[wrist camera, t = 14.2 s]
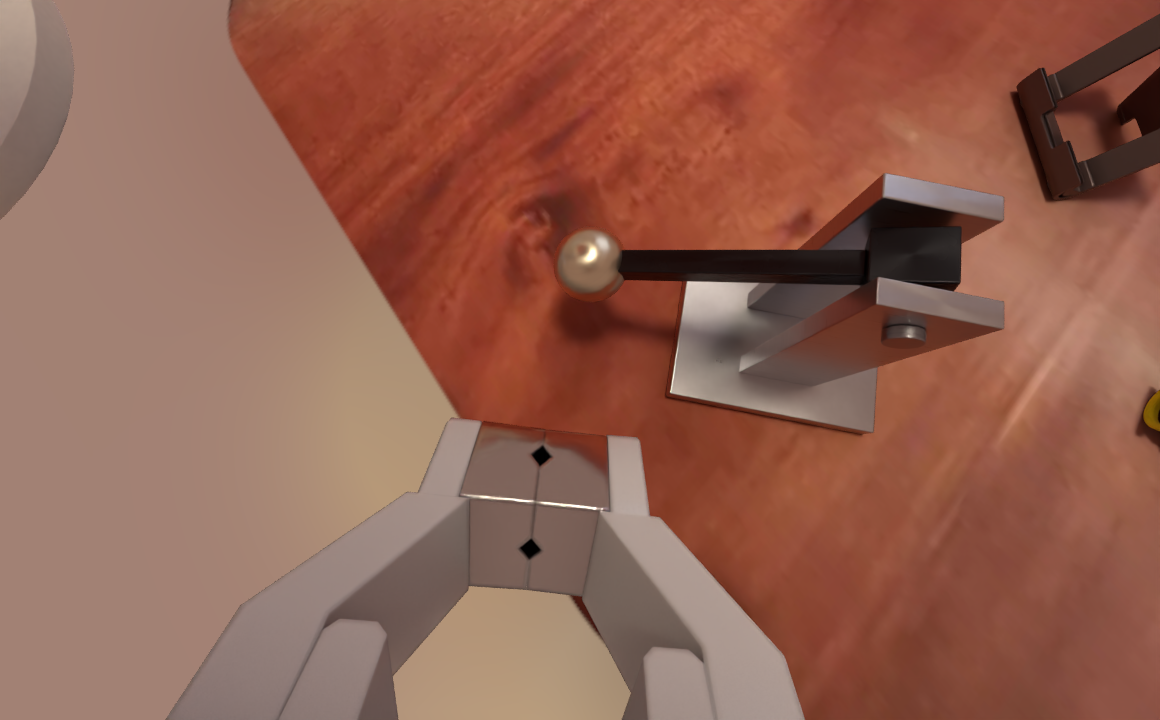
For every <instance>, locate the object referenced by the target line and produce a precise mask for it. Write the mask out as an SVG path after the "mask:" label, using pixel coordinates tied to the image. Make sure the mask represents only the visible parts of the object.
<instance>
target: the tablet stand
mask: <svg viewBox="0 0 1160 720" xmlns="http://www.w3.org/2000/svg"><path fill="white" fill-rule="evenodd" d="M1158 49H1160V14H1159V15H1157V16H1155V17H1153V18H1152V19H1150V20H1148V21H1146V22H1144V23H1143V24H1141V25H1139V26H1137V27H1136V28H1134V29H1132V30H1130V31H1129V32H1127V33H1125V34H1123V35H1122V36H1120V37H1118V38H1116V39H1115V40H1113V41H1111V42H1109V43H1108V44H1106V45H1104V46H1102V47H1101V48H1099V49H1097V50H1095V51H1094V52H1092V53H1090V54H1088V55H1087V56H1085V57H1083V58H1081V59H1080V60H1078V61H1076V62H1074V63H1073V64H1071V65H1069V66H1067V67H1066V68H1064V69H1062V70H1060V71H1059V72H1057V73H1055V74H1052V75H1050V76H1048V77H1047V74H1046V71H1045V68H1039V69H1037V70H1036V71H1035V72H1033V73H1032V74H1030V75H1029V76H1028V77H1026V78H1025V79H1024V80H1022V81H1021V82H1020V83H1019V84H1018V85H1017V91H1018V94H1019V97H1020V104H1021V106H1022V107H1023V109H1024V112H1025V115H1026V118H1027V121H1028V124H1029V127H1030V130H1031V133H1032V136H1033V139H1034V142H1035V145H1036V148H1037V151H1038V154H1039V157H1040V160H1041V163H1042V166H1043V169H1044V172H1045V175H1046V178H1047V181H1048V182H1047V185H1048V188H1049V189H1050V190H1051V193H1052V196H1053V199H1054V200H1061V199H1066V198H1070V197H1073V196H1076V195H1079V194H1081V193H1084V192H1087V191H1089V190H1092V189H1094V188H1097V187H1099V186H1102V185H1104V184H1107V183H1110V182H1112V181H1115V180H1117V179H1120V178H1122V177H1125V176H1127V175H1130V174H1133V173H1135V172H1138V171H1140V170H1143V169H1145V168H1148V167H1150V166H1153V165H1155V164H1158V163H1160V67H1159V68H1158V69H1157V70H1156V71H1155V72H1154V73H1153V74H1152V75H1151V76H1149V77H1148V78H1147V79H1146V80H1145V81H1144V82H1143V83H1142V84H1141V85H1140V86H1139V87H1138V88H1137V89H1136V90H1135V91H1133V92H1132V93H1131V94H1130V95H1129V96H1128V97H1127V98H1126V99H1125V100H1124V101H1123V102H1122V103H1121V104H1119V105H1118V107H1117V115H1118V117H1119V120H1120V123H1121V125H1124V124H1126V123H1128V122H1129V121H1131V120H1132V119H1134V118H1135V119H1136V121H1137V123H1138V126H1139V128H1140V131H1141V134H1142V137H1140V138H1137V139H1135V140H1133V141H1130V142H1128V143H1126V144H1123V145H1121V146H1119V147H1116V148H1114V149H1112V150H1109V151H1107V152H1105V153H1103V154H1100V155H1098V156H1096V157H1093V158H1091V159H1089V160H1086V161H1082V162H1079V163H1077V160H1076V157H1075V154H1074V151H1073V148H1072V145H1071V143H1070V141H1066V142H1063V139H1062V136H1061V133H1060V130H1059V127H1058V124H1057V121H1056V118H1055V116H1054V113H1053V111H1054V110H1056V109H1057V107H1058V106H1057V103H1058V102H1060V101H1061V100H1063V99H1065V98H1067V97H1069V96H1071V95H1073V94H1075V93H1077V92H1078V91H1080V90H1082V89H1084V88H1086V87H1088V86H1090V85H1092V84H1094V83H1096V82H1097V81H1099V80H1101V79H1103V78H1105V77H1107V76H1109V75H1111V74H1113V73H1114V72H1116V71H1118V70H1120V69H1122V68H1124V67H1126V66H1128V65H1130V64H1131V63H1133V62H1135V61H1137V60H1139V59H1141V58H1143V57H1145V56H1147V55H1149V54H1150V53H1152V52H1154V51H1156V50H1158Z"/></svg>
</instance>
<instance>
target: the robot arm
mask: <svg viewBox="0 0 1160 720" xmlns="http://www.w3.org/2000/svg"><path fill="white" fill-rule="evenodd" d="M469 586H477V587H492V588H508V589H523V590H532V591H540V592H549V593H557V594H565V595H573V596H581V597H582V600H583V602H584V604H585V606H586V608H587V610H588V612H589V614H590V616H591V618H592V620H593V621H594V623H595V625H596V627H597V629H598V631H599V633H600V635H601V637H602V639H603V640H604V642H605V644H606V646H607V648H608V650H609V652H610V654H611V656H612V658H613V659H614V661H615V663H616V665H617V667H618V669H619V671H620V673H621V675H622V677H623V679H624V681H625V682H626V684H627V686H628V688H629V690H630V692H631V695H630V698H629V701H628V704H627V706H626V710H625V712H624V715H623V718H622V720H805V718H804V715H803V712H802V709H801V706H800V703H799V700H798V697H797V694H796V691H795V688H794V684H793V681H792V678H791V675H790V672H789V669H788V666H787V663H786V660H785V657H784V655H783V654H782V653H781V652H780V651H779V650H778V648H777V647H776V646H775V645H774V644H773V643H772V642H771V641H770V640H769V638H768V637H767V636H766V635H765V634H764V633H763V632H762V631H761V629H760V628H759V627H758V626H757V625H756V624H755V623H754V622H753V621H752V619H751V618H750V617H749V616H748V615H747V614H746V613H745V612H744V611H743V609H742V608H741V607H740V606H739V605H738V604H737V603H736V602H735V601H734V599H733V598H732V597H731V596H730V595H729V594H728V593H727V592H726V590H725V589H724V588H723V587H722V586H721V585H720V584H719V583H718V582H717V580H716V579H715V578H714V577H713V576H712V575H711V574H710V573H709V572H708V570H707V569H706V568H705V567H704V566H703V565H702V564H701V563H700V561H699V560H698V559H697V558H696V557H695V556H694V555H693V554H692V553H691V551H690V550H689V549H688V548H687V547H686V546H685V545H684V544H683V543H682V541H681V540H680V539H679V538H678V537H677V536H676V535H675V534H674V533H673V531H672V530H671V529H670V528H669V527H668V526H667V525H666V524H665V522H664V521H663V520H662V519H661V518H660V517H652V516H650V513H649V505H648V498H647V490H646V483H645V475H644V468H643V460H642V453H641V445H640V441H639V439H638V438H637V437H626V436H614V435H606V436H604V435H595V434H585V433H575V432H565V431H556V430H546V429H540V428H533V427H525V426H517V425H510V424H502V423H494V422H487V421H483V422H481V421H476V420H468V419H460V418H451V419H450V420H449V421H448V422H447V423H446V425H445V427H444V430H443V432H442V434H441V437H440V440H439V442H438V444H437V447H436V449H435V452H434V454H433V457H432V459H431V461H430V464H429V466H428V469H427V471H426V474H425V476H424V478H423V481H422V483H421V486H420V488H419V491H418V493H416V492H406V493H405V494H403V495H402V496H400V497H399V498H398V499H396V500H394V501H393V502H392V503H390V504H389V505H387V506H386V507H384V508H383V509H381V510H380V511H378V512H377V513H375V514H374V515H372V516H371V517H369V518H368V519H367V520H365V521H364V522H362V523H361V524H359V525H358V526H356V527H355V528H353V529H352V530H350V531H349V532H347V533H346V534H345V535H343V536H342V537H340V538H339V539H337V540H336V541H334V542H333V543H331V544H330V545H328V546H327V547H325V548H324V549H323V550H321V551H320V552H318V553H317V554H315V555H314V556H312V557H311V558H309V559H308V560H306V561H305V562H304V563H302V564H300V565H299V566H298V567H296V568H295V569H293V570H292V571H290V572H289V573H287V574H286V575H285V576H283V577H282V578H280V579H278V580H277V581H275V582H274V583H273V584H271V585H270V586H268V587H267V588H265V589H264V590H262V591H261V592H259V593H258V594H256V595H255V596H254V597H252V598H251V599H249V600H248V601H246V602H245V603H243V604H242V605H240V607H239V608H238V610H237V611H236V613H235V615H234V616H233V617H232V619H231V620H230V622H229V624H228V625H227V627H226V628H225V630H224V631H223V633H222V634H221V636H220V637H219V639H218V640H217V642H216V643H215V645H214V646H213V648H212V649H211V651H210V652H209V654H208V656H207V657H206V659H205V660H204V662H203V663H202V665H201V666H200V668H199V669H198V671H197V672H196V674H195V675H194V677H193V678H192V680H191V682H190V683H189V684H188V686H187V688H186V689H185V691H184V692H183V694H182V695H181V697H180V698H179V700H178V701H177V703H176V704H175V706H174V707H173V709H172V710H171V712H170V713H169V715H168V717H167V718H166V720H398V714H397V706H396V698H395V691H394V683H393V675H394V674H395V673H396V672H397V671H398V669H399V668H400V667H401V666H402V665H403V664H404V663H405V662H406V661H407V659H408V658H409V657H410V656H411V655H412V654H413V652H414V651H415V650H416V649H417V648H418V647H419V646H420V644H421V643H422V642H423V641H424V640H425V639H426V638H427V637H428V635H429V634H430V633H431V632H432V631H433V630H434V629H435V627H436V626H437V625H438V624H439V623H440V622H441V621H442V619H443V618H444V617H445V616H446V615H447V614H448V612H449V611H450V610H451V609H452V608H453V607H454V605H456V603H457V602H458V601H459V600H460V599H461V597H463V595H464V594H465V593H466V592H467V591H468V587H469ZM526 586H527V587H526Z"/></svg>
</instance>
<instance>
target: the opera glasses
mask: <svg viewBox="0 0 1160 720" xmlns="http://www.w3.org/2000/svg"><path fill="white" fill-rule="evenodd" d="M1143 418H1144V421H1145V423H1146V424H1147V425H1148V426H1149V427H1151V428H1153V429H1155V430H1157V431H1160V390H1159V391H1158V392H1157V393H1156V394H1155V395H1154V396H1153V397H1152V398H1151V399H1150V400H1149V402H1148V403H1147V405H1146V407H1145V410H1144V415H1143Z"/></svg>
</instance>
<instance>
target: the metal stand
mask: <svg viewBox="0 0 1160 720" xmlns="http://www.w3.org/2000/svg"><path fill="white" fill-rule="evenodd" d="M1003 221H1004V197H1003V196H998V195H993V194H988V193H983V192H978V191H973V190H968V189H963V188H958V187H953V186H948V185H943V184H938V183H933V182H928V181H923V180H918V179H913V178H908V177H903V176H898V175H893V174H888V173H884V174H883V175H882V176H881V177H879V178H878V179H877V180H876V181H875V182H874V183H873V184H871V185H870V186H869V187H868V188H867V189H866V190H865V191H864V192H862V193H861V194H860V195H859V196H858V197H857V198H856V199H854V200H853V201H852V202H851V203H850V204H849V205H848V206H847V207H845V208H844V209H843V210H842V211H841V212H840V213H839V214H837V215H836V216H835V217H834V218H833V219H832V220H831V221H830V222H828V223H827V224H826V225H825V226H824V227H823V228H822V229H820V230H819V231H818V232H817V233H816V234H815V235H814V236H813V237H811V238H810V239H809V240H808V241H807V242H806V243H805V244H803V245H802V246H801V247H800V248H799V249H798V250H864V249H865V246H866V243H867V239H868V236H869V233H870V230H871V228H883V227H941V226H961V227H962V242H961V244H962V243H964V242H966V241H968V240H970V239H971V238H973V237H975V236H977V235H979V234H981V233H982V232H984V231H986V230H988V229H990V228H992V227H994V226H995V225H997V224H999V223H1001V222H1003ZM1002 329H1004V302H1003V301H998V300H993V299H988V298H983V297H978V296H973V295H968V294H963V293H958V292H953V291H948V290H943V289H937V288H932V287H927V286H922V285H917V284H912V283H907V282H902V281H897V280H892V279H887V278H882V277H877V278H875V279H874V280H872V281H870V282H868V283H867V284H865V285H863V286H862V287H860V285H820V284H777V283H735V282H692V281H683V283H682V289H681V296H680V302H679V309H678V316H677V322H676V329H675V336H674V342H673V349H672V355H671V362H670V369H669V375H668V382H667V389H666V396H667V397H672V398H677V399H682V400H687V401H692V402H697V403H703V404H708V405H713V406H718V407H723V408H728V409H734V410H739V411H744V412H749V413H754V414H759V415H765V416H770V417H775V418H780V419H785V420H790V421H796V422H801V423H806V424H811V425H816V426H821V427H827V428H832V429H837V430H842V431H847V432H852V433H858V434H868V433H873V432H874V418H875V401H876V384H877V367H879V366H882V365H886V364H889V363H892V362H896V361H899V360H902V359H906V358H909V357H912V356H916V355H919V354H922V353H926V352H929V351H932V350H936V349H939V348H942V347H946V346H949V345H952V344H955V343H959V342H962V341H965V340H969V339H972V338H975V337H979V336H982V335H985V334H989V333H992V332H995V331H999V330H1002Z"/></svg>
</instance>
